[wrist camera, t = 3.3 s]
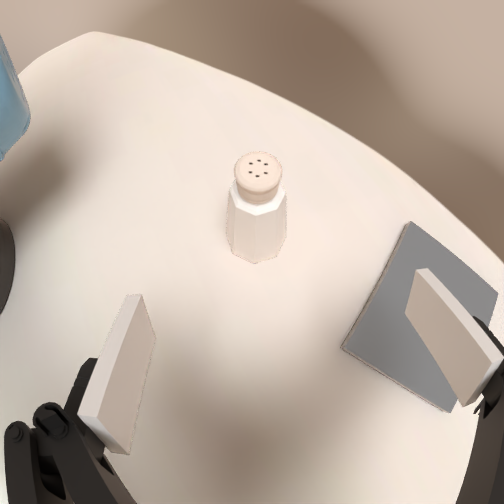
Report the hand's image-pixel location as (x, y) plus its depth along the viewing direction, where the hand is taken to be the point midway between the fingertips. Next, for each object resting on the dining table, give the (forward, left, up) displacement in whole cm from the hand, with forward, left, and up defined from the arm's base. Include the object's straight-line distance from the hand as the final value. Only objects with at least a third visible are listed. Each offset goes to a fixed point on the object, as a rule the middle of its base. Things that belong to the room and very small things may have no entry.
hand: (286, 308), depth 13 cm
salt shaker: (-7, +5, -12) cm, 15 cm away
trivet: (+11, +11, -12) cm, 20 cm away
